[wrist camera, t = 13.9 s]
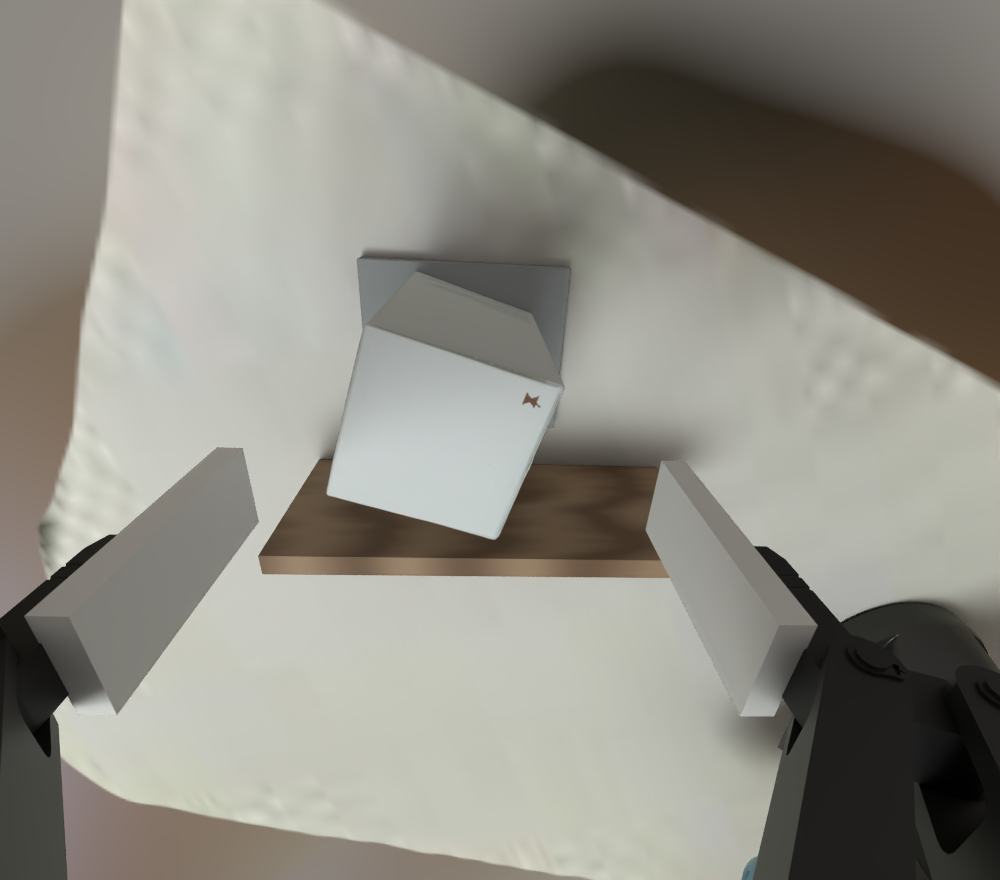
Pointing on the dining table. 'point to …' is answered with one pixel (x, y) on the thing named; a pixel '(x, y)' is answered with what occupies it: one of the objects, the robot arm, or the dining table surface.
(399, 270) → the mat
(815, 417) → the dining table surface
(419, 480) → the supplement box
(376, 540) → the walnut screen
